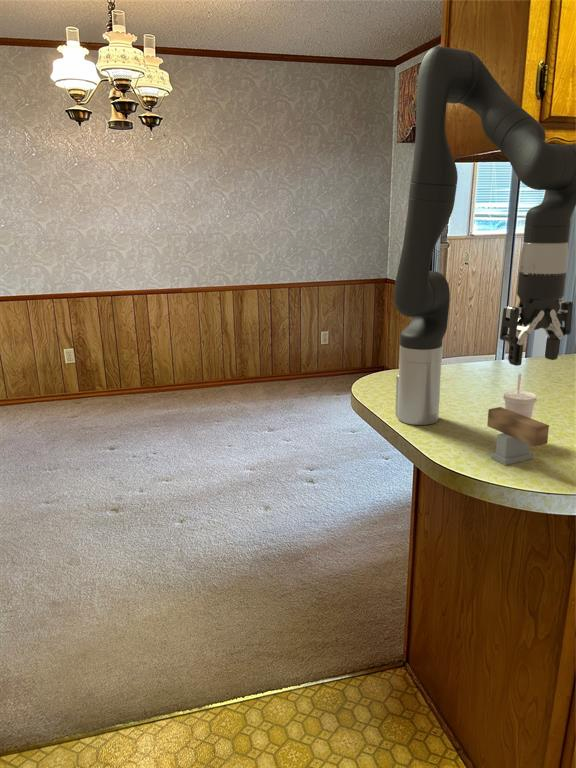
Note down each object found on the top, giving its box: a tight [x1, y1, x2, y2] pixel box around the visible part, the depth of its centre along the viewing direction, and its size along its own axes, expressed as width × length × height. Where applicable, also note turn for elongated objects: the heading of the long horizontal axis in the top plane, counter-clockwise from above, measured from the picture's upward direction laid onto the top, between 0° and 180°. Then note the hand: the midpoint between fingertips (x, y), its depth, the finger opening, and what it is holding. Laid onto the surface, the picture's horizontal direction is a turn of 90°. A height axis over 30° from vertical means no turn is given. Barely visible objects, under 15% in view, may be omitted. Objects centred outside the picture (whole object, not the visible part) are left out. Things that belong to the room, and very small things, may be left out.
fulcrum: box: [490, 432, 534, 466], centre depth 115 cm, size 4×7×5 cm, turn 115°
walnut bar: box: [487, 406, 550, 447], centre depth 113 cm, size 12×3×4 cm, turn 25°
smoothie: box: [502, 372, 538, 419], centre depth 123 cm, size 6×6×14 cm
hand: (533, 361), depth 107 cm, fingers open, 8 cm apart
